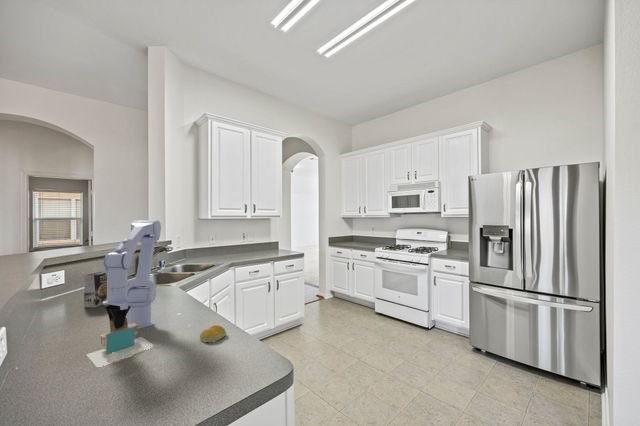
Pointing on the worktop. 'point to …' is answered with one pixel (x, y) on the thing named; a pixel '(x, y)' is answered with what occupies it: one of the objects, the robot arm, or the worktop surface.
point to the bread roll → (212, 334)
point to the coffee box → (95, 289)
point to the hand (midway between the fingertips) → (116, 325)
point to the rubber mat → (118, 352)
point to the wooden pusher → (117, 329)
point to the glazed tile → (119, 339)
